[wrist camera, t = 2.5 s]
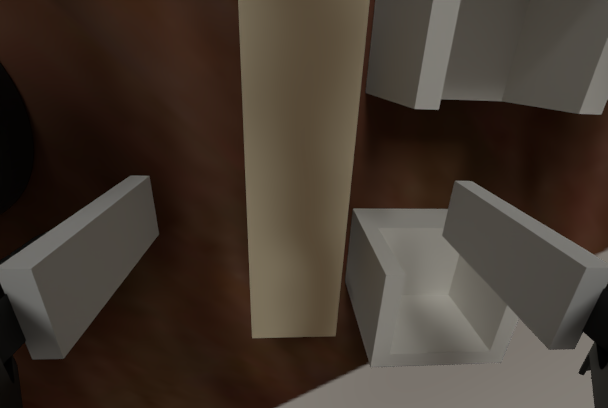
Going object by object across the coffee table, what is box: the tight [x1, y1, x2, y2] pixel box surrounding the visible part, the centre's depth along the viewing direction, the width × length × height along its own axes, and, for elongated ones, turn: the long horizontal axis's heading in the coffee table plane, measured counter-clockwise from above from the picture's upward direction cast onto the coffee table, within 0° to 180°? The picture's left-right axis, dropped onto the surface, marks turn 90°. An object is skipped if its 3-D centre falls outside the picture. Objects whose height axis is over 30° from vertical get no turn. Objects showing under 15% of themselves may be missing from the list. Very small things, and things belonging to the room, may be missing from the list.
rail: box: [238, 0, 370, 338], centre depth 16 cm, size 4×16×5 cm, turn 178°
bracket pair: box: [345, 0, 608, 367], centre depth 18 cm, size 8×21×8 cm, turn 178°
